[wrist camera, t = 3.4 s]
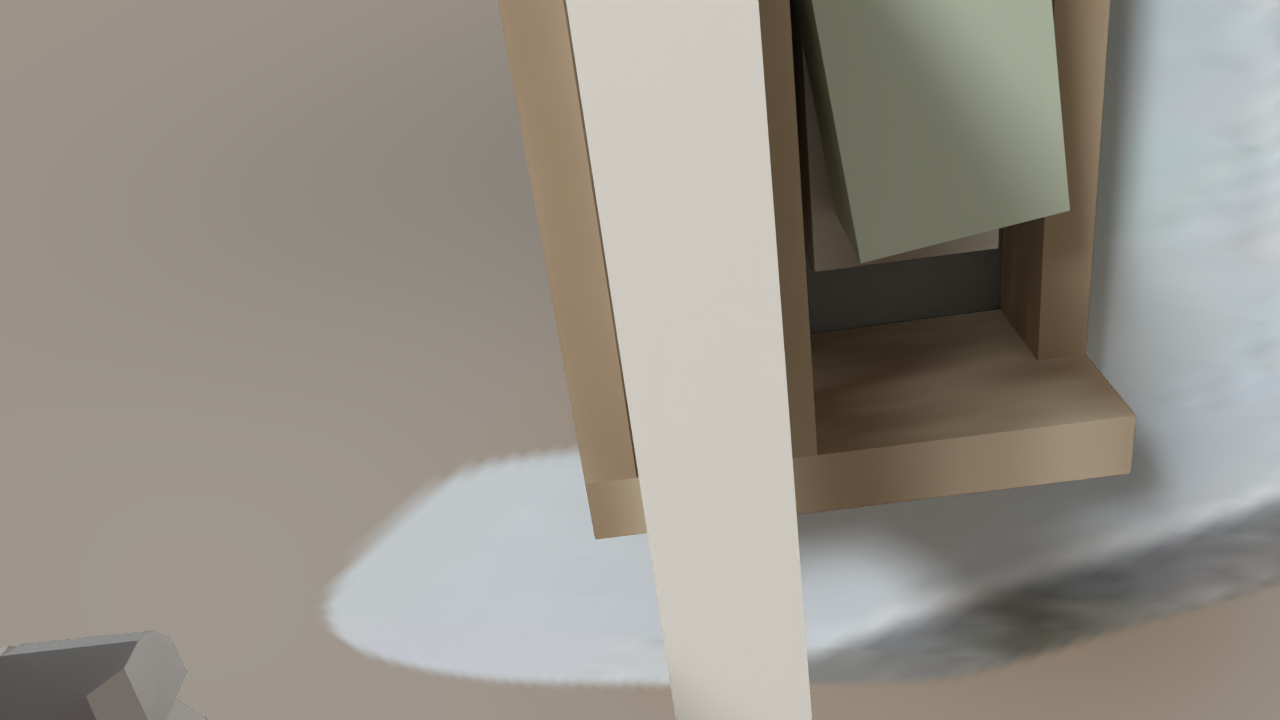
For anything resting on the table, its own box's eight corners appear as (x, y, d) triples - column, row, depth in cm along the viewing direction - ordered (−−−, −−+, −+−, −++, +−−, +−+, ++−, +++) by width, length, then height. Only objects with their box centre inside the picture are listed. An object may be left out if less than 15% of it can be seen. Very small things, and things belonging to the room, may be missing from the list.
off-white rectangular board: (639, -321, 24) (722, -487, 8) (704, 280, 30) (821, 849, 14) (564, -310, 24) (495, -454, 8) (645, 287, 30) (698, 864, 14)
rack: (1087, -605, 22) (1245, -723, 16) (1041, 354, 32) (1130, 473, 26) (440, -507, 22) (390, -593, 17) (595, 411, 32) (595, 539, 27)
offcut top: (978, -257, 22) (1029, -258, 20) (1023, 164, 26) (1069, 210, 24) (756, -192, 23) (777, -184, 20) (835, 213, 27) (861, 263, 24)
